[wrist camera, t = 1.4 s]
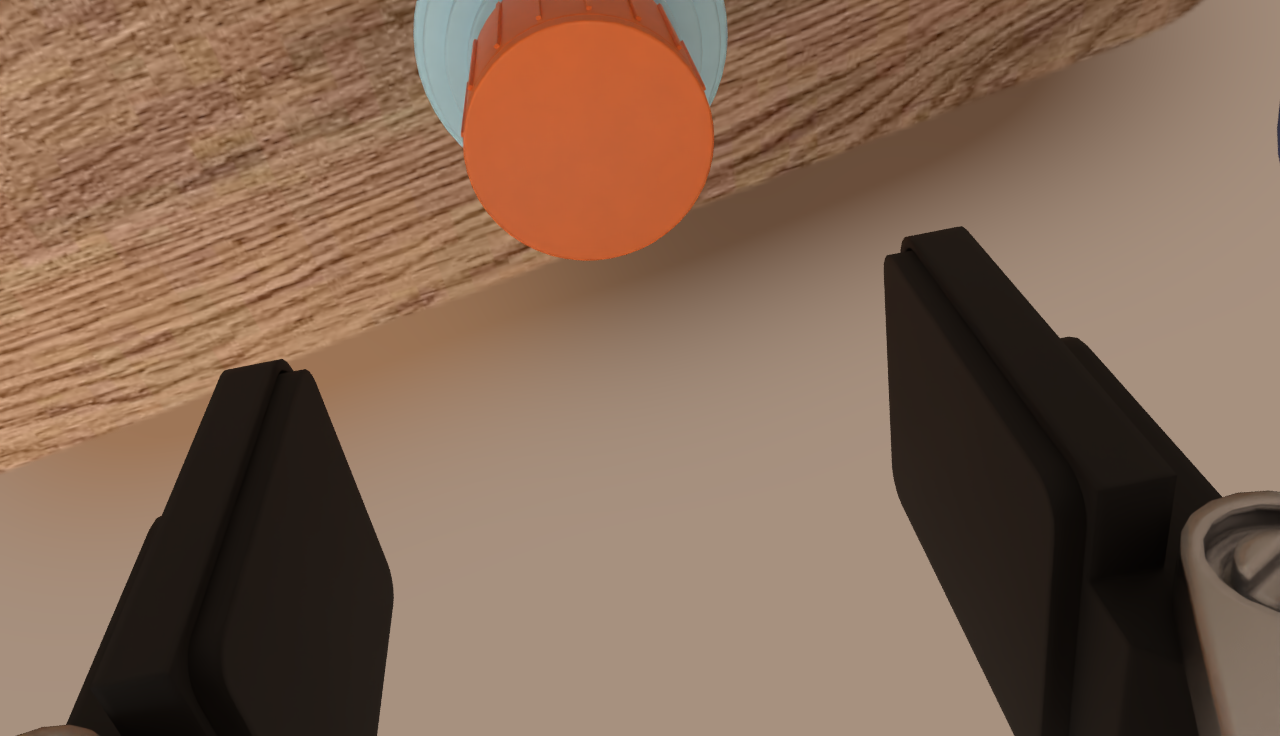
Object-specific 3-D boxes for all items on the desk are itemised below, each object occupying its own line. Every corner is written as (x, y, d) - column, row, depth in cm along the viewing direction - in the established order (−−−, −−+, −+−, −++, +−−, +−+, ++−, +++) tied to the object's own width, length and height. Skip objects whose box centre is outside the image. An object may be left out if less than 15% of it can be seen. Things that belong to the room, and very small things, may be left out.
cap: (669, -53, 19) (699, -6, 16) (699, 160, 22) (730, 238, 19) (444, -10, 19) (431, 46, 16) (497, 199, 22) (495, 283, 19)
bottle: (640, -207, 32) (763, -111, 16) (672, 17, 35) (798, 273, 20) (421, -165, 32) (331, -28, 16) (475, 55, 35) (444, 341, 20)
